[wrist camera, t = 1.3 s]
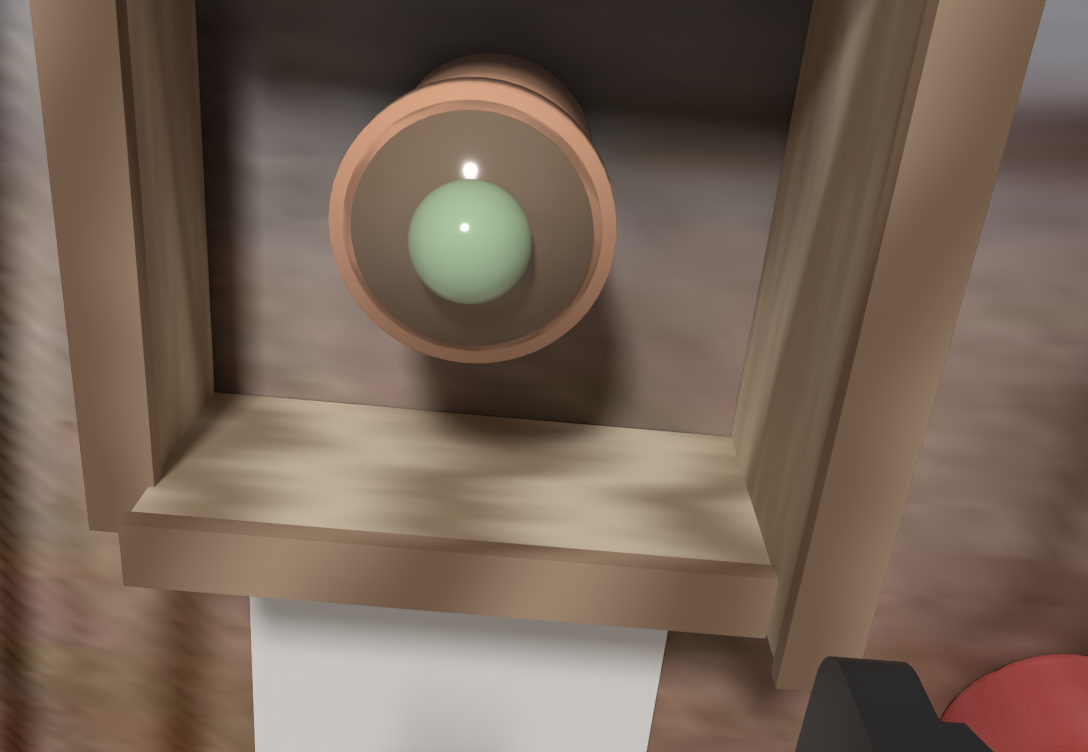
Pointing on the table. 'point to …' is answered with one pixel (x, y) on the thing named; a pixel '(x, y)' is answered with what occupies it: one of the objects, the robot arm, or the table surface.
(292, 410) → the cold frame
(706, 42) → the table surface
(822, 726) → the robot arm
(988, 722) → the flower pot
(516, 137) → the seedling pot
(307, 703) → the grey mat
